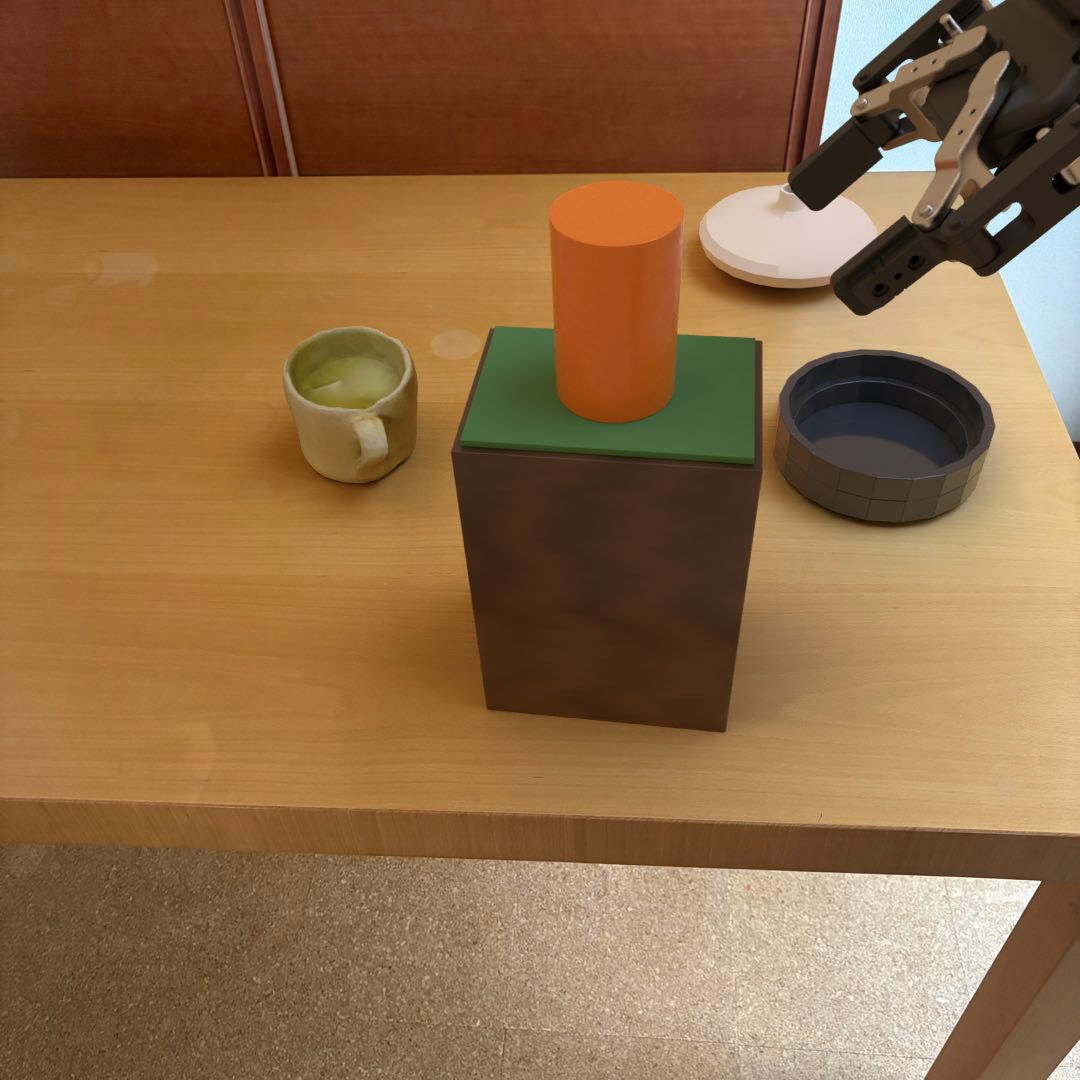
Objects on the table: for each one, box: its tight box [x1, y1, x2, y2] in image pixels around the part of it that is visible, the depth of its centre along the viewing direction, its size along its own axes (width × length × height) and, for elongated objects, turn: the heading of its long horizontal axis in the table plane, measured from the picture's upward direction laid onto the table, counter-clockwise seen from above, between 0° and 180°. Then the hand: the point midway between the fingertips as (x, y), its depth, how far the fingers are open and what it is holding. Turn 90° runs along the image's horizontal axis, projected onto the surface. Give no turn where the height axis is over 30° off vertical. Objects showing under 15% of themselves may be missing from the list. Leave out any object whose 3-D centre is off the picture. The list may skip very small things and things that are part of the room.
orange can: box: [548, 179, 685, 423], centre depth 46 cm, size 6×6×9 cm
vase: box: [698, 182, 879, 289], centre depth 92 cm, size 16×16×7 cm
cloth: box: [460, 325, 756, 464], centre depth 50 cm, size 13×9×1 cm
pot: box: [772, 348, 996, 523], centre depth 74 cm, size 14×14×4 cm
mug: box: [282, 325, 419, 484], centre depth 75 cm, size 12×10×10 cm
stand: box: [450, 327, 764, 733], centre depth 57 cm, size 14×10×20 cm
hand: (819, 245), depth 44 cm, fingers open, 8 cm apart
